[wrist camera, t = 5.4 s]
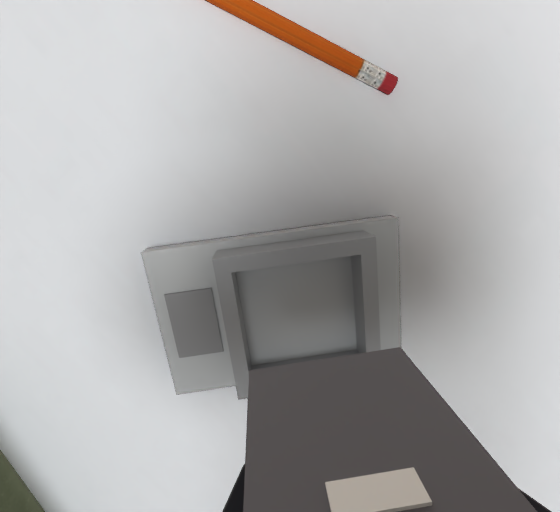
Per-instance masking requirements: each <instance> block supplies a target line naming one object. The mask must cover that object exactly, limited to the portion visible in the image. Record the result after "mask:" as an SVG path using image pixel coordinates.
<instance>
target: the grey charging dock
mask: <svg viewBox="0 0 560 512" xmlns="http://www.w3.org/2000/svg"><path fill="white" fill-rule="evenodd" d="M141 255H142V259H143V263H144V267H145V271H146V275H147V279H148V283H149V287H150V291H151V295H152V299H153V303H154V307H155V311H156V315H157V319H158V323H159V327H160V331H161V335H162V339H163V343H164V347H165V351H166V355H167V359H168V363H169V367H170V371H171V375H172V379H173V383H174V387H175V391H176V395H179V394H186V393H192V392H199V391H205V390H212V389H218V388H225V387H231V386H236V390H237V395H238V400H239V399H245V398H248V387H249V370H254V369H261V368H267V367H274V366H280V365H287V364H293V363H300V362H306V361H313V360H319V359H326V358H332V357H339V356H346V355H352V354H359V353H365V352H372V351H378V350H385V349H391V348H398V347H401V316H400V271H399V226H398V217H395V216H391V215H389V216H382V217H374V218H367V219H359V220H352V221H345V222H337V223H330V224H322V225H315V226H308V227H300V228H293V229H285V230H278V231H270V232H263V233H256V234H248V235H241V236H233V237H226V238H219V239H211V240H204V241H196V242H189V243H182V244H174V245H167V246H159V247H152V248H147V249H145V250H144V251H142V252H141Z"/></svg>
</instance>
